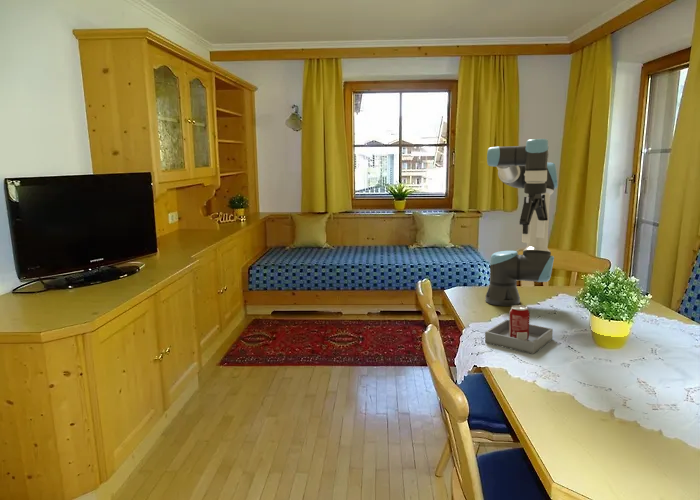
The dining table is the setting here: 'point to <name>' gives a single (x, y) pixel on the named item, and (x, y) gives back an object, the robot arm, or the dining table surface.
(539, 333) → the bin
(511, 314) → the soda can
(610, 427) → the dining table surface
